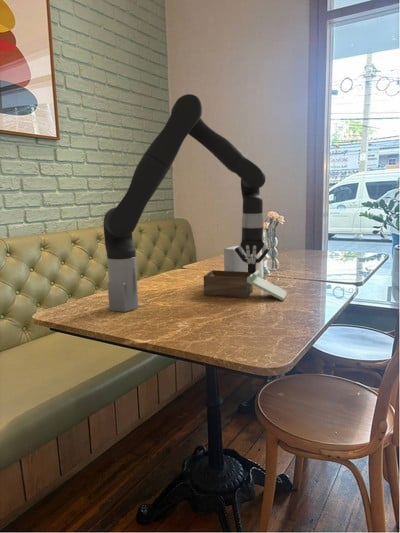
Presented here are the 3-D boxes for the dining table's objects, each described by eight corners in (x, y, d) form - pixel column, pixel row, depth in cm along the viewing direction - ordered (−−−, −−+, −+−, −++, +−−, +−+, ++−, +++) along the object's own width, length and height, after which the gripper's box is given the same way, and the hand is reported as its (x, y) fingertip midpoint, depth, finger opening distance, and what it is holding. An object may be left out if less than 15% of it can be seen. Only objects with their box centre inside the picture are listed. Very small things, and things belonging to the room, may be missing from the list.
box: (246, 298, 140) (246, 278, 139) (203, 295, 145) (203, 276, 144) (252, 291, 150) (252, 272, 149) (212, 288, 155) (212, 270, 154)
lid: (283, 301, 136) (287, 292, 135) (245, 281, 139) (249, 272, 138) (286, 294, 145) (290, 286, 144) (251, 275, 148) (255, 267, 147)
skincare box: (237, 279, 171) (237, 245, 168) (247, 281, 166) (247, 246, 163) (223, 282, 166) (223, 247, 163) (233, 284, 161) (233, 248, 158)
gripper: (231, 226, 139) (231, 274, 142) (269, 227, 134) (268, 276, 138) (236, 224, 146) (236, 270, 149) (272, 225, 141) (271, 272, 145)
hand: (251, 273), depth 143 cm, fingers closed
